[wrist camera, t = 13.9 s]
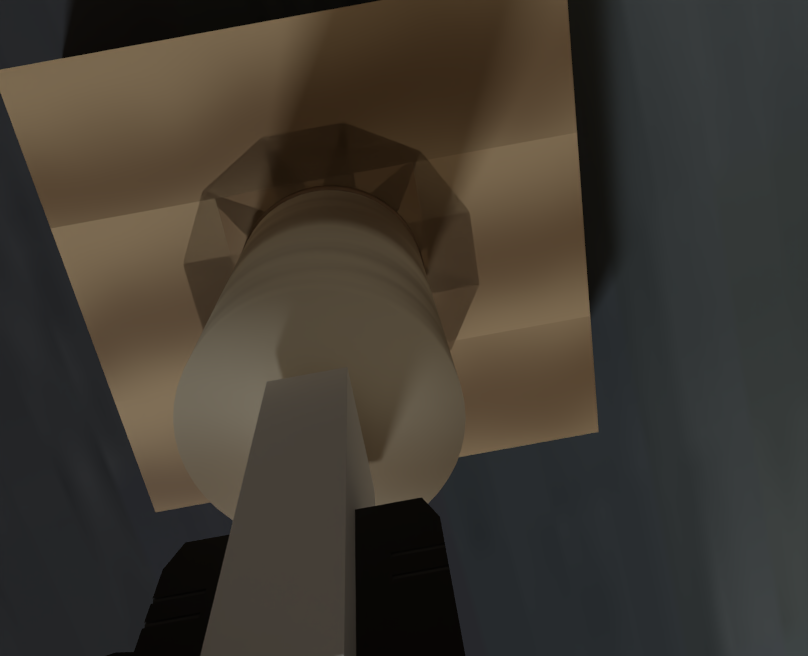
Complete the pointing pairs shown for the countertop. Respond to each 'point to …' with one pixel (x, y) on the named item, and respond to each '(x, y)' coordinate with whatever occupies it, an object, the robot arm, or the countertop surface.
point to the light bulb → (325, 345)
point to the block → (316, 166)
